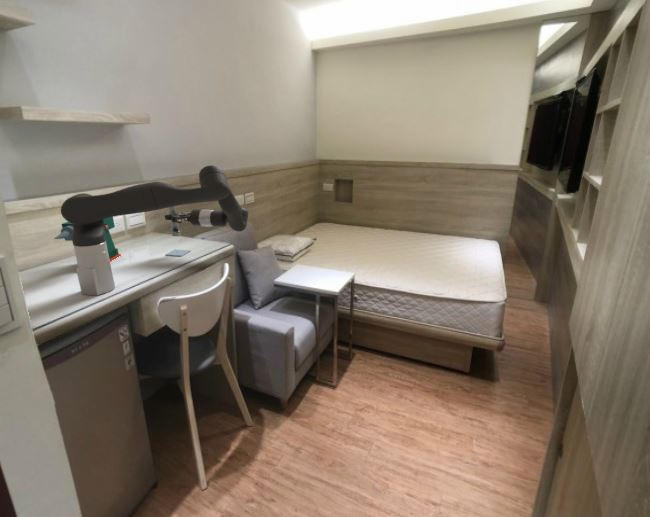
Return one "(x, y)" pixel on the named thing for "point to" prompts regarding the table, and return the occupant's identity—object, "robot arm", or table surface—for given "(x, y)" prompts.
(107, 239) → the power tool
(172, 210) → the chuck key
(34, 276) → the table surface
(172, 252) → the rest mat
